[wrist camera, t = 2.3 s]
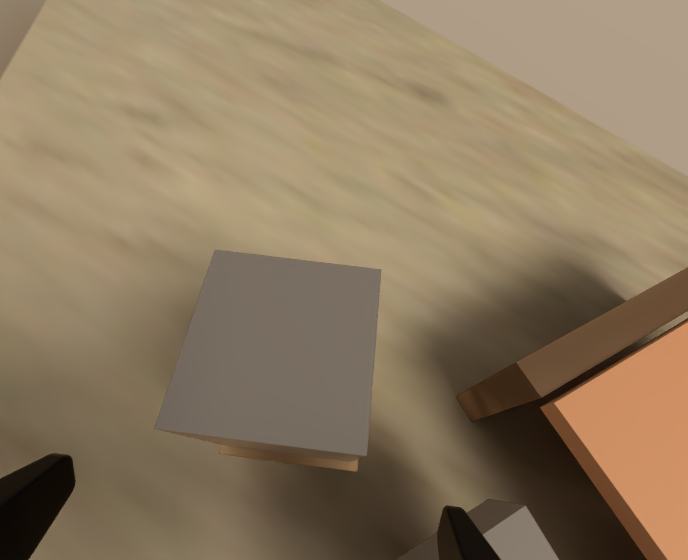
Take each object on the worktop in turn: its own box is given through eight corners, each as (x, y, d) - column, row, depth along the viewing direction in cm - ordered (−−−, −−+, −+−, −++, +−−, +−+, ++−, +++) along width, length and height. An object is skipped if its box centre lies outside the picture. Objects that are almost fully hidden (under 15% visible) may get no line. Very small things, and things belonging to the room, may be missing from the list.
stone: (361, 343, 17) (381, 269, 11) (350, 462, 15) (366, 456, 8) (256, 330, 17) (214, 249, 11) (228, 446, 15) (154, 428, 8)
